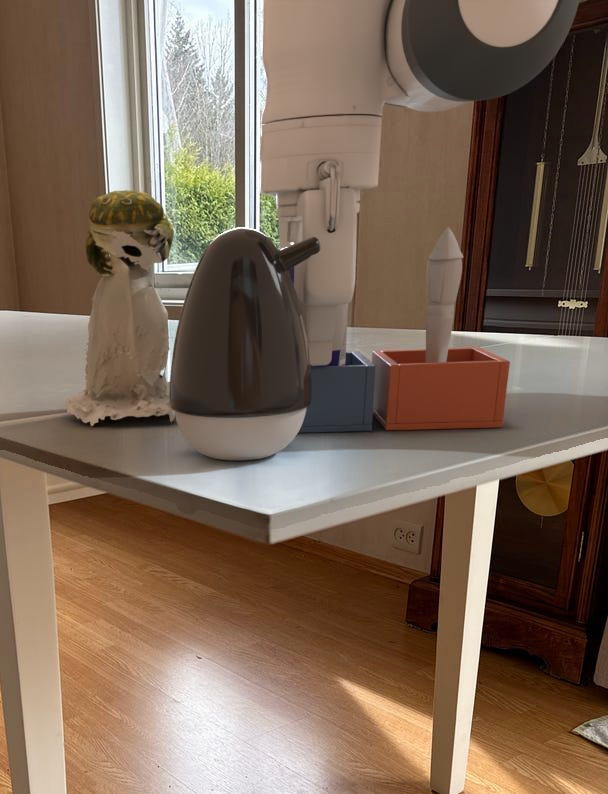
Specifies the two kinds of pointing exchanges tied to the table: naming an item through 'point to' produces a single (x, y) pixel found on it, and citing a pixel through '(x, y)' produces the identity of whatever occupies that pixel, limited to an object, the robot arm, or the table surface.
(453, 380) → the terracotta bin
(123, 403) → the cream green figurine
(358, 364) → the slate bin
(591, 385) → the table surface
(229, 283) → the pump dispenser
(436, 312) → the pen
